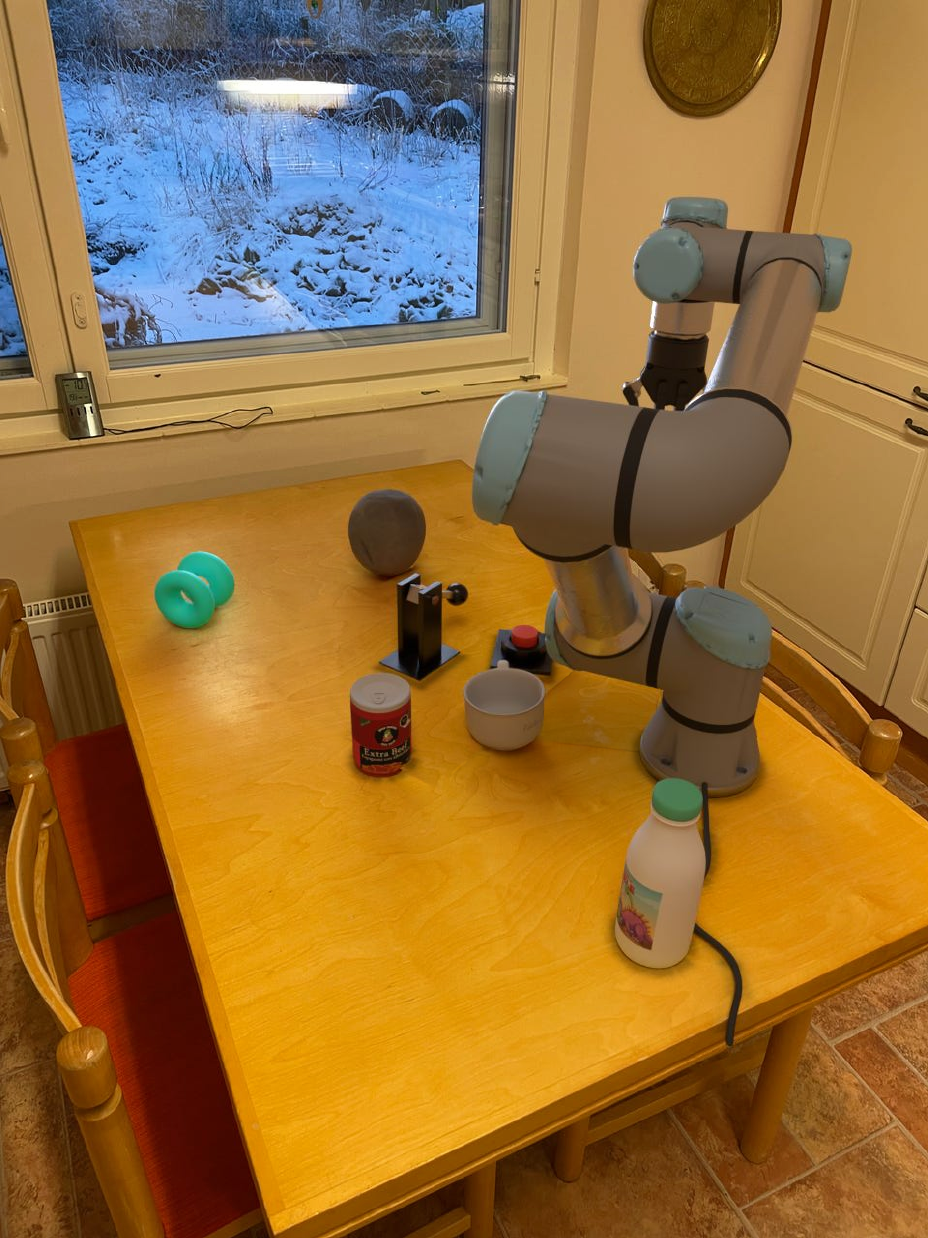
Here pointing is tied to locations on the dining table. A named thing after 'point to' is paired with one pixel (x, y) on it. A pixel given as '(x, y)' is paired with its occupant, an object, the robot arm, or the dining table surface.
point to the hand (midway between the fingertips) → (655, 505)
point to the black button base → (522, 654)
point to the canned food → (381, 723)
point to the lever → (453, 593)
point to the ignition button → (524, 636)
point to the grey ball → (387, 531)
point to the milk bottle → (663, 878)
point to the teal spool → (194, 589)
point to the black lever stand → (419, 632)
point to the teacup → (504, 707)
